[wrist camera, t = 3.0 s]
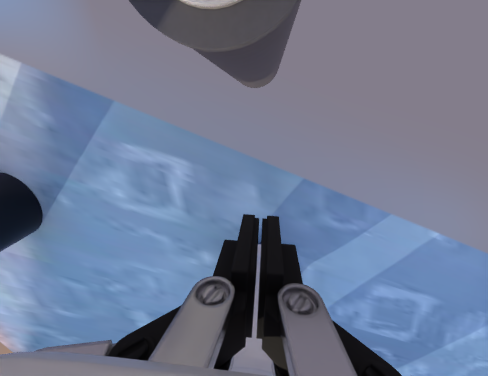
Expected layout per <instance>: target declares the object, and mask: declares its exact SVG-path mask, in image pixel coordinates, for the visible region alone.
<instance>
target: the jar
mask: <svg viewBox="0 0 488 376" xmlns="http://www.w3.org/2000/svg"><path fill="white" fill-rule="evenodd" d="M260 258H261V244H258V251H257V271H256V285H255V299H254V313H253V327H252V338H248V337H246V345H245V347H244V348H243V349H242V350H240V351H239V352H238V353H237V354H235V355H234V363H233V367H232V370H231V371H235V372H243V373H251V374H259V375H267V376H273V374H272V360H271V359H270V358H269V356H268V355H267V354H266V353H265V352H264V351H263V350H262V339H257V338H256V337H257V317H258V297H259V277H260Z"/></svg>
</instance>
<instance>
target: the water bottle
mask: <svg viewBox="0 0 488 376" xmlns="http://www.w3.org/2000/svg"><path fill="white" fill-rule="evenodd" d="M41 222H42V210H41V207H40V204H39V202H38V200H37V198H36V197H35V195H34V194H33V193H32V191H31V190H30V189H29V188H28V187H27V186H26V185H24V184H23V183H22V182H21V181H19V180H18V179H16V178H14V177H12V176H10V175H7V174H4V173H0V252H1V251H2V250H4V249H6V248H7V247H9V246H11V245H12V244H14V243H16V242H17V241H19V240H21V239H23V238H24V237H26V236H28V235H29V234H31V233H33V232H34V231H36V230H37V229H38V228H39V226H40V225H41Z"/></svg>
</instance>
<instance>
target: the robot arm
mask: <svg viewBox="0 0 488 376" xmlns="http://www.w3.org/2000/svg"><path fill="white" fill-rule="evenodd" d="M180 1H181V2H183V3H185V4H187V5H190V6H193V7H197V8H200V9H220V8H225V7H229V6H232V5H234V4H236V3H238V2H241V1H243V0H180ZM258 230H259V218H255V215H246V214H244V215H243V219H242V223H241V228H240V232H239V237H238V241H235V240H225V241H224V243H223V246H222V250H221V253H220V256H219V259H218V262H217V265H216V268H215V271H214V274H213V276H211V277H207V278H204V279H202V280H200V281H199V282H197V283H196V284H195V286H194V287H193V288H192V290H191V291H190V293H189V295H188V296H187V298H186V299H185V301H184V303H183V304H182V305H181V306H179V307H178V308H176V309H174V310H172V311H170V312H169V313H167V314H165V315H163V316H161V317H159V318H158V319H156V320H154V321H152V322H150V323H148V324H147V325H145V326H143V327H141V328H139V329H138V330H136V331H134V332H132V333H130V334H128V335H127V336H125V337H124V338H122V339H121V340H119V341H118V342H117V343H115V344H112V341H111V340H106V341H98V342H89V343H81V344H72V345H63V346H55V347H47V348H43V349H39V350H36V351H34V352H16V353H9V354H2V355H0V376H267V375H259V374H251V373H243V372H235V371H231V370H232V367H233V363H234V355H235V354H237V353H238V352H239V351H240V350H242V349H243V348H244V347H245V345H246V337H248V338H252V327H253V313H254V299H255V285H256V271H257V251H258ZM256 338H257V339H262V350H263V351H264V352H265V353H266V354H267V355H268V356H269V358H270V359H271V360H272V374H273V376H402V375H401V374H400V373H399V372H398V371H397V370H396V369H394V368H393V367H392V366H391V365H390V364H389V363H387V362H386V361H385V360H383V359H382V358H381V357H379V356H378V355H377V354H376V353H374V352H373V351H372V350H370V349H369V348H368V347H366V346H365V345H364V344H363V343H361V342H360V341H359V340H357V339H356V338H355V337H353V336H352V335H351V334H350V333H348V332H347V331H346V330H344V329H343V328H342V327H340V326H339V325H338V324H336V323H335V322H334V321H333V320H331V317H330V315H329V313H328V311H327V309H326V307H325V304H324V302H323V300H322V298H321V297H320V295H319V294H318V293H317V292H316V291H315V290H314V289H312V288H310V287H309V286H307V285H303V282H302V277H301V272H300V267H299V262H298V257H297V251H296V247H295V245H289V244H281V236H280V225H279V217H277V216H267V219H263V221H262V240H261V258H260V277H259V297H258V317H257V337H256Z"/></svg>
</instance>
